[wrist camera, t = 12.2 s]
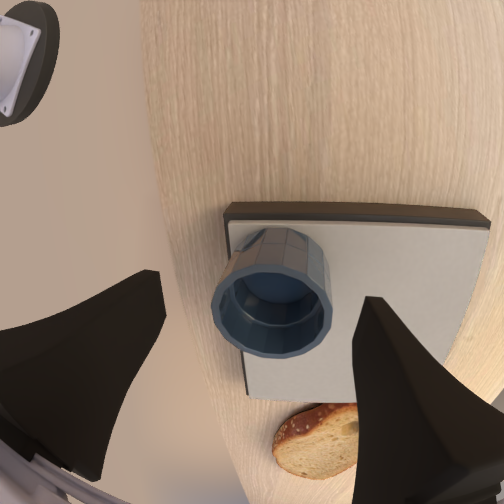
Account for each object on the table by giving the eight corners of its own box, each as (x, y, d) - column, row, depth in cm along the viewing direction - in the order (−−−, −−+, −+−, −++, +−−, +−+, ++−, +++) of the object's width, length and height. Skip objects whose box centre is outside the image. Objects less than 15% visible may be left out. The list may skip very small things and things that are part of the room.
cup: (214, 267, 18) (189, 312, 14) (277, 202, 16) (266, 238, 12) (281, 320, 19) (273, 372, 15) (347, 269, 17) (357, 319, 13)
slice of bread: (305, 471, 37) (303, 491, 34) (227, 427, 32) (220, 451, 29) (414, 440, 29) (417, 463, 26) (361, 384, 25) (364, 415, 22)
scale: (229, 201, 19) (217, 217, 17) (476, 209, 16) (496, 225, 13) (249, 377, 27) (243, 400, 24) (422, 377, 23) (427, 399, 21)
